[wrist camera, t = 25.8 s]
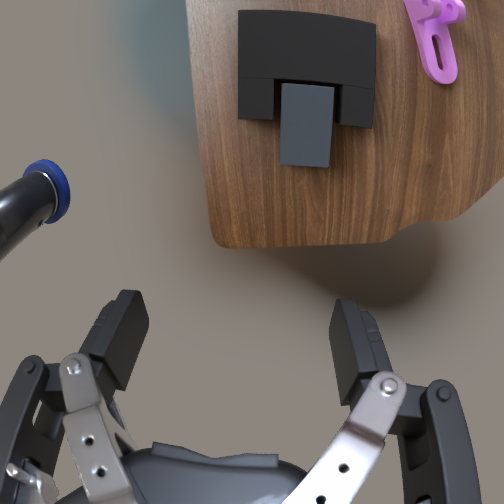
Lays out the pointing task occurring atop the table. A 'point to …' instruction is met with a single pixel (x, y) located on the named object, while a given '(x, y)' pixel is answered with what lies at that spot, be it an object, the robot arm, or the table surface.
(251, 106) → the base pad
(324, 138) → the pad
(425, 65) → the bracket
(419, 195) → the table surface
